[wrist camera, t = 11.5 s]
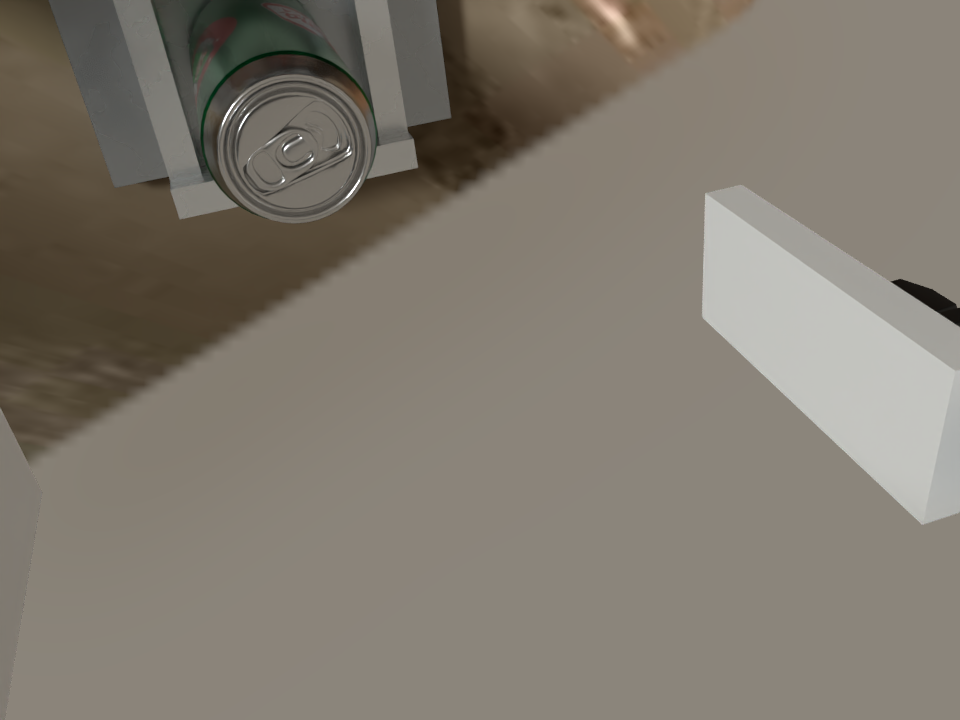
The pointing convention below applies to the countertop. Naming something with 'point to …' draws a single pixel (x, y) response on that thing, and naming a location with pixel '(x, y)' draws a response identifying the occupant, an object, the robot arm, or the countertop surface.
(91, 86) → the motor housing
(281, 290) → the countertop surface
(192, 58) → the soda can
